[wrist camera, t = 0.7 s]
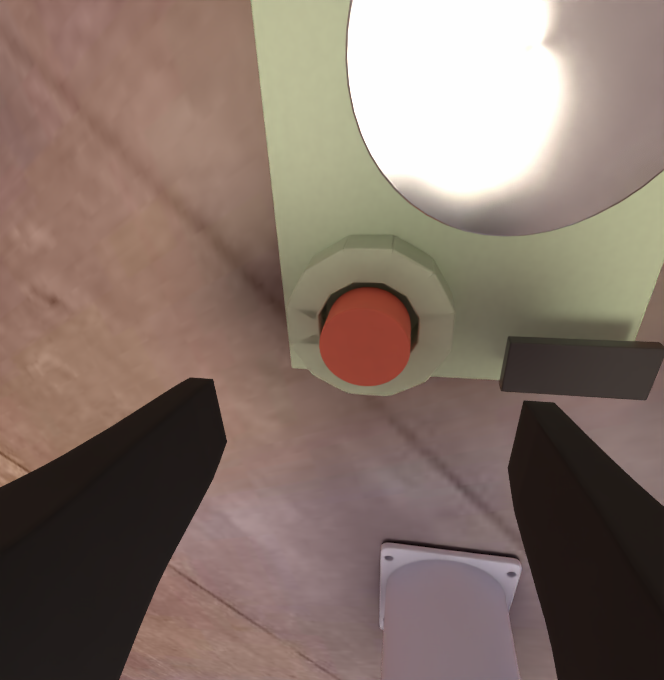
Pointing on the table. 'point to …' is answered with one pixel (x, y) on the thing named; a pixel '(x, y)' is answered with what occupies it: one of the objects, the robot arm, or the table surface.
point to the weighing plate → (518, 137)
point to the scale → (423, 231)
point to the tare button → (366, 337)
